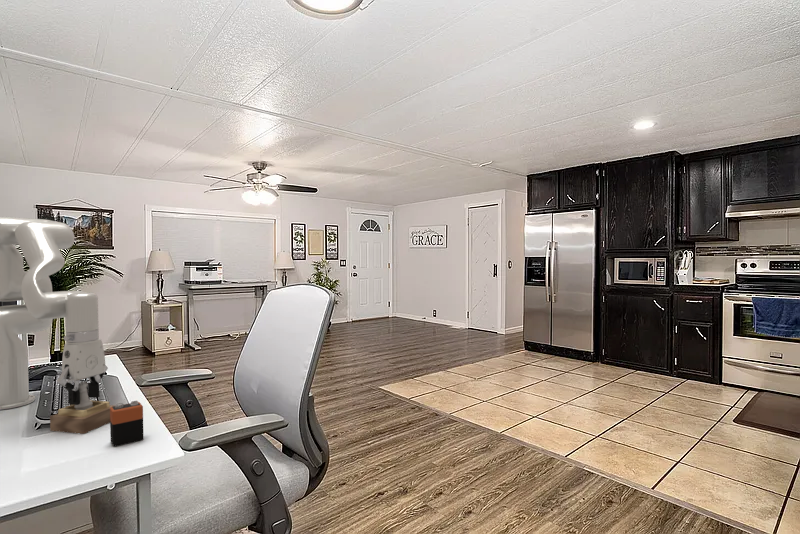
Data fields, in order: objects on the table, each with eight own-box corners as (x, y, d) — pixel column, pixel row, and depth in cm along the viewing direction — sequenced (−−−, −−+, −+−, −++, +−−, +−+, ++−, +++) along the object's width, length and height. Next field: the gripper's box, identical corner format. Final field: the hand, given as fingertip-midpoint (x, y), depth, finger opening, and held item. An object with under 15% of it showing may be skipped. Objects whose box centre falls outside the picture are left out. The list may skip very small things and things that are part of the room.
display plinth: (50, 430, 124) (49, 410, 124) (85, 416, 135) (85, 398, 135) (83, 434, 122) (83, 413, 122) (117, 419, 133) (117, 400, 132)
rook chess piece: (90, 405, 132) (86, 378, 131) (96, 408, 129) (92, 381, 128) (72, 411, 128) (68, 383, 127) (78, 414, 125) (74, 386, 125)
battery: (110, 442, 117) (109, 403, 116) (140, 435, 121) (139, 397, 121) (113, 447, 113) (112, 407, 113) (143, 440, 118) (143, 401, 118)
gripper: (65, 343, 118) (67, 412, 119) (118, 332, 135) (120, 392, 136) (41, 342, 120) (43, 410, 121) (97, 331, 137) (99, 390, 137)
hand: (84, 400), depth 128 cm, fingers open, 5 cm apart
